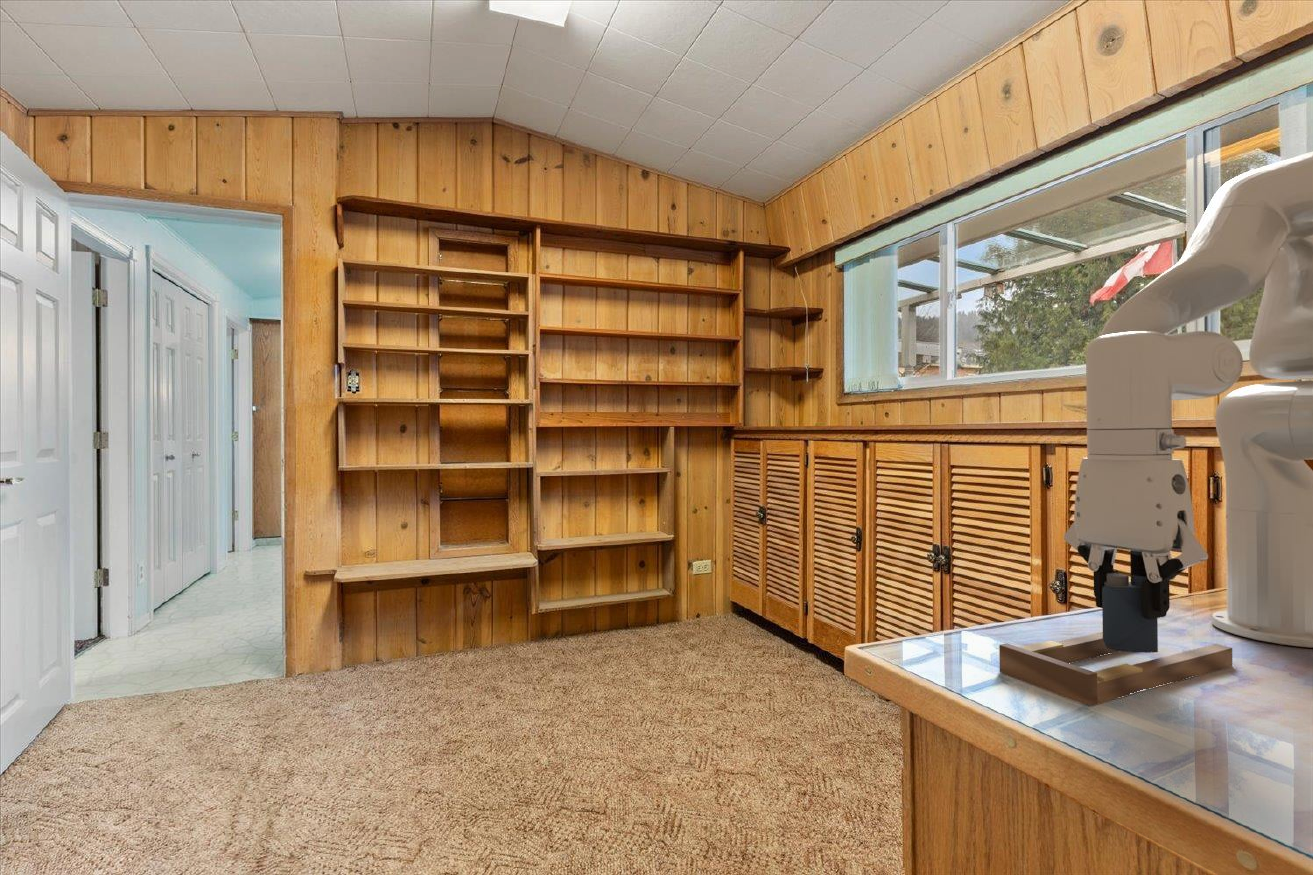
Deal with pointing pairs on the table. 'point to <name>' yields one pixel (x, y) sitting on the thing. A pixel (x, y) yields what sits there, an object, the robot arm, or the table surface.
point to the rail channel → (1056, 675)
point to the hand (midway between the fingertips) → (1130, 609)
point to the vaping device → (1127, 611)
